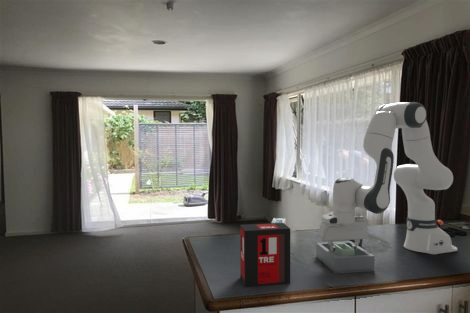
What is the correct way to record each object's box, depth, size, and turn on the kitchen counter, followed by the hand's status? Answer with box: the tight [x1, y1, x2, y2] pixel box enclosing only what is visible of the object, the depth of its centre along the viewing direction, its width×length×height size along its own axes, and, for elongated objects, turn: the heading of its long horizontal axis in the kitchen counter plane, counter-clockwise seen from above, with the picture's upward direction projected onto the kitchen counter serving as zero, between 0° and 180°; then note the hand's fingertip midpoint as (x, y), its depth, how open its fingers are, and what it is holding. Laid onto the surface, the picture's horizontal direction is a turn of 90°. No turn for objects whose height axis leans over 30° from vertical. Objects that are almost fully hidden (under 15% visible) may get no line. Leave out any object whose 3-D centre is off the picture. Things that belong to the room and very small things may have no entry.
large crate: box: [315, 240, 375, 274], centre depth 148 cm, size 16×20×6 cm
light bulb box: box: [270, 217, 287, 226], centre depth 180 cm, size 11×7×11 cm, turn 168°
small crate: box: [333, 243, 355, 257], centre depth 148 cm, size 5×9×6 cm, turn 8°
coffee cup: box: [348, 239, 364, 248], centre depth 171 cm, size 8×8×10 cm
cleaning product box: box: [239, 222, 291, 288], centre depth 131 cm, size 16×9×20 cm, turn 99°
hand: (343, 250), depth 148 cm, fingers open, 8 cm apart
